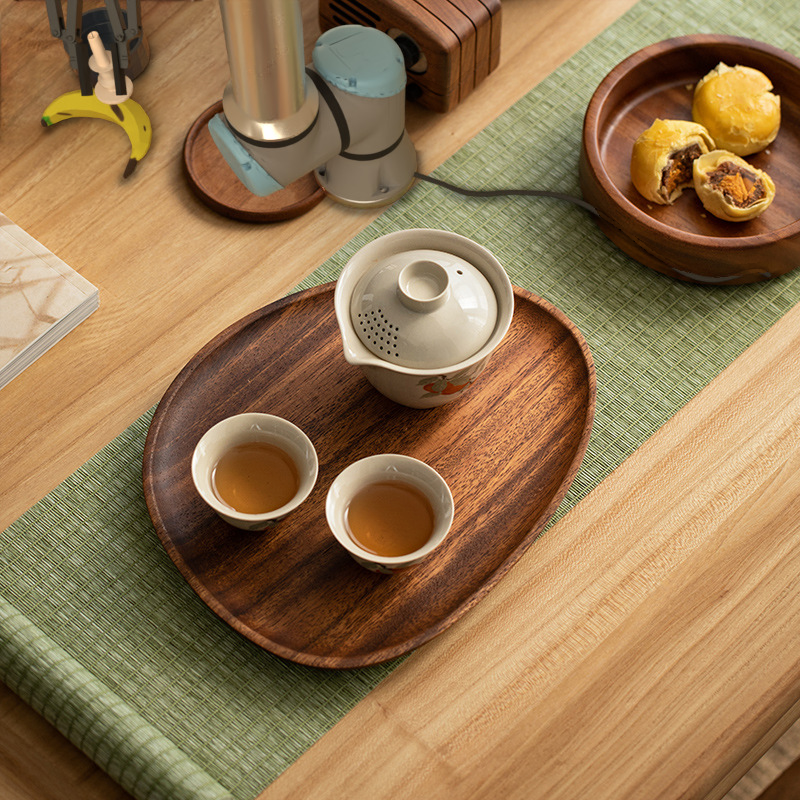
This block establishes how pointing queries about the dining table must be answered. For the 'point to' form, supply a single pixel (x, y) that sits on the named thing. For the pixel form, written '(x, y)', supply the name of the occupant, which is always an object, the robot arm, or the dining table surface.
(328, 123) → the robot arm
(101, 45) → the candle
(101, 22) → the bowl
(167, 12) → the dining table surface
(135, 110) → the banana
